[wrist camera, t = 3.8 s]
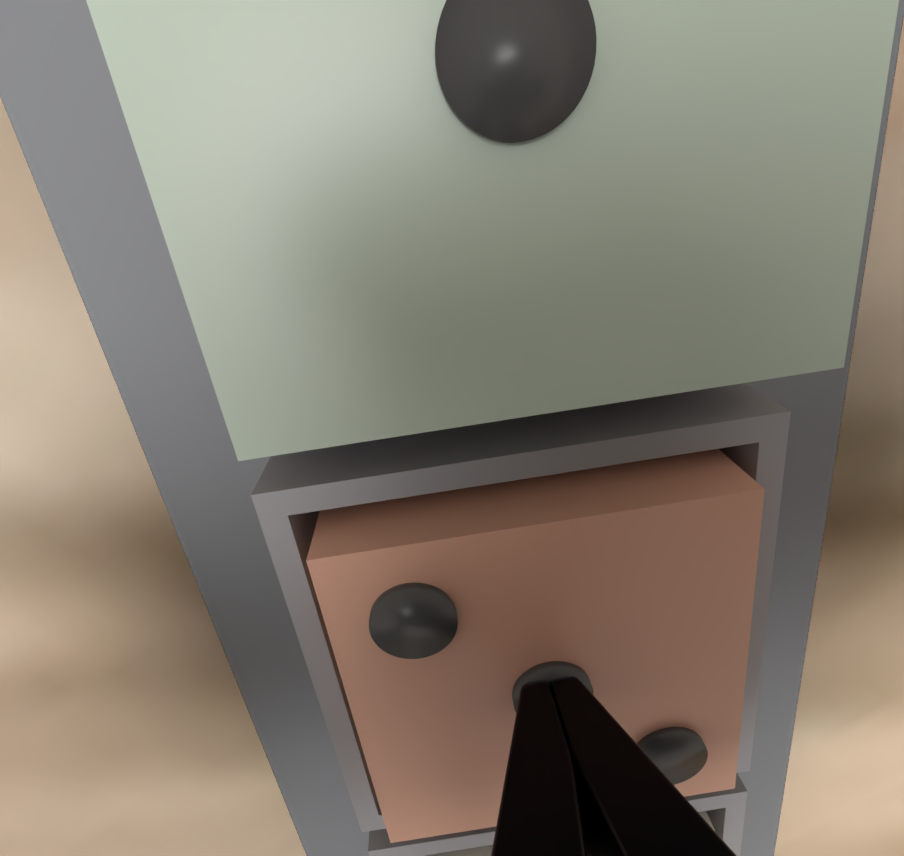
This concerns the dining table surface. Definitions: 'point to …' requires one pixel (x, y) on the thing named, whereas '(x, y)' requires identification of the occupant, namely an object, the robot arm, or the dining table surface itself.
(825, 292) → the tile one dot
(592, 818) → the robot arm
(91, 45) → the button board
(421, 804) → the tile three dots
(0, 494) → the dining table surface
